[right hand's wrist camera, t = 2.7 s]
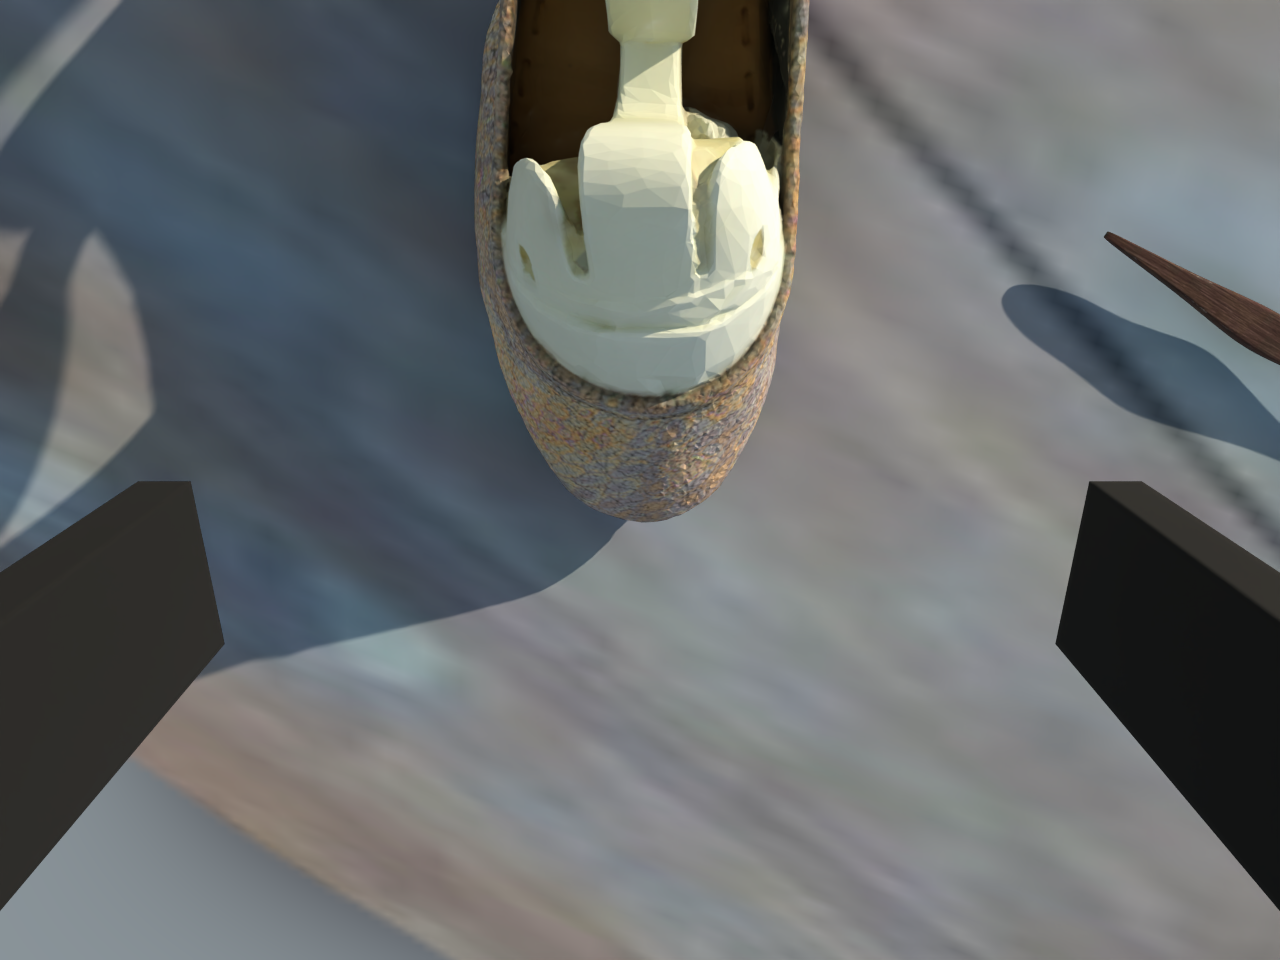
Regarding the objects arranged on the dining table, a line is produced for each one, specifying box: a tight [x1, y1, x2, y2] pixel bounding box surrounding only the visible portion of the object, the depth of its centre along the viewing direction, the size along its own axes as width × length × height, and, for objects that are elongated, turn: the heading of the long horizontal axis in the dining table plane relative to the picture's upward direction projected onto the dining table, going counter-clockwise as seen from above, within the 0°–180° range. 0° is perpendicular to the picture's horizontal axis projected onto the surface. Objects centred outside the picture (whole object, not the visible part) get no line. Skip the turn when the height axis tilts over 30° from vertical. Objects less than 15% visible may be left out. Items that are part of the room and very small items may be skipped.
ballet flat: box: [474, 0, 809, 522], centre depth 18 cm, size 8×25×8 cm, turn 0°
